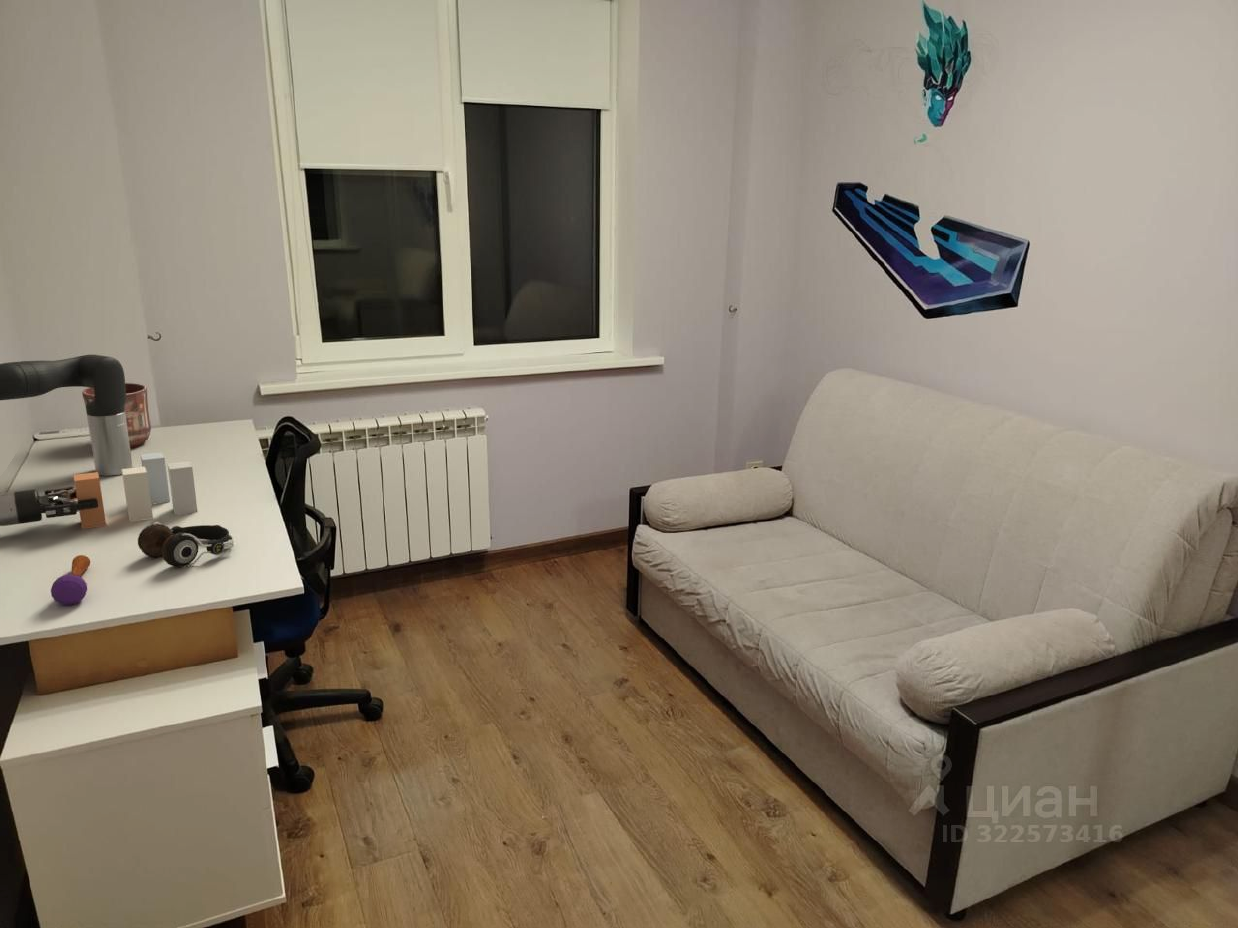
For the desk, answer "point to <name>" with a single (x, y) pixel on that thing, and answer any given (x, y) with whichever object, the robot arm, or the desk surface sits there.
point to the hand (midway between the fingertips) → (96, 497)
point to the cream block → (137, 493)
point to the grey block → (182, 487)
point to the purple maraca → (71, 583)
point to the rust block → (90, 489)
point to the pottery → (132, 412)
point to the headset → (183, 542)
